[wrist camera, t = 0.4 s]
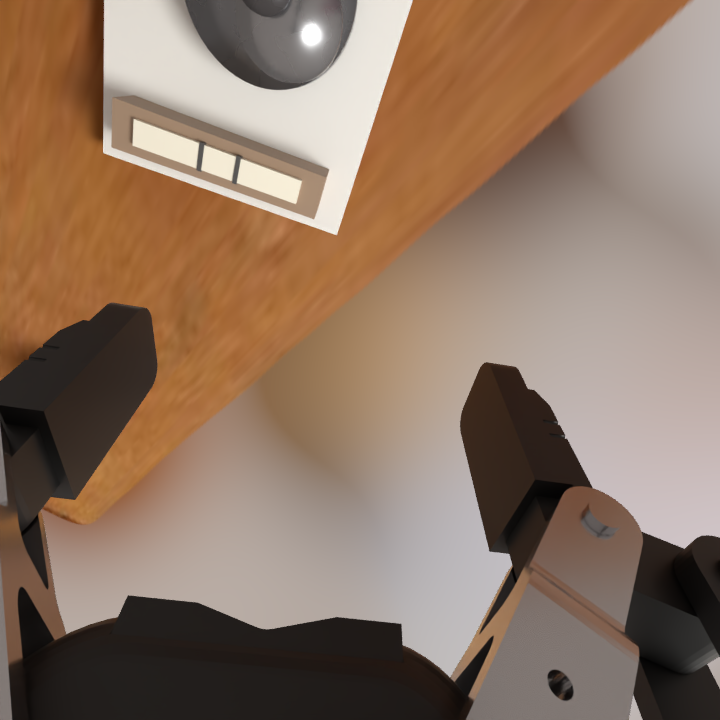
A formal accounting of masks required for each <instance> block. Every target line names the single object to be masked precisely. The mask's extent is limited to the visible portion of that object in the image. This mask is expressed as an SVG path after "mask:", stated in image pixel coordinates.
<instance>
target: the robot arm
mask: <svg viewBox="0 0 720 720" xmlns="http://www.w3.org/2000/svg"><path fill="white" fill-rule="evenodd" d="M156 374H157V356H156V349H155V341H154V333H153V326H152V318H151V314H150V312H149V310H148V309H147V308H143V307H137V306H130V305H124V304H117V303H109V304H107V305H106V306H105V307H104V308H103V309H102V310H101V311H100V312H98V313H97V314H96V315H95V316H94V317H93V318H92V319H91V320H90V321H86V320H82V321H80V322H78V323H76V324H73V325H71V326H69V327H67V328H64V329H62V330H60V331H58V332H57V333H56V334H55V335H54V336H53V337H51V338H50V339H49V340H48V341H47V342H46V343H44V344H43V348H38V349H37V350H36V351H35V352H34V353H33V354H31V355H30V356H29V360H24V361H23V362H22V363H21V364H20V365H19V366H17V367H16V368H15V369H14V370H13V371H12V372H10V373H9V374H8V375H7V376H6V377H4V378H3V379H2V380H1V381H0V720H629V715H630V709H631V703H632V697H633V695H634V697H635V700H636V703H637V706H638V708H639V711H640V713H641V716H642V719H643V720H720V689H719V687H718V685H717V683H716V681H715V679H714V677H713V675H712V673H711V671H710V669H709V667H708V665H707V664H708V663H710V662H711V661H713V660H714V659H716V658H718V657H720V538H718V537H715V536H700V537H698V538H696V539H695V540H694V541H693V542H692V543H691V544H689V545H688V546H687V547H686V548H685V549H683V548H681V547H678V546H676V545H673V544H671V543H668V542H666V541H663V540H661V539H658V538H656V537H653V536H651V535H648V534H645V533H643V532H641V530H640V527H639V525H638V523H637V522H636V521H635V519H634V517H633V516H632V515H631V514H630V513H629V512H628V510H627V509H626V508H625V507H623V506H622V505H621V504H620V503H618V501H616V500H615V499H613V498H612V497H610V496H609V495H607V494H605V493H603V492H601V491H599V490H596V489H593V488H592V486H591V484H590V482H589V480H588V478H587V476H586V474H585V472H584V470H583V469H582V467H581V465H580V463H579V461H578V459H577V457H576V455H575V453H574V451H573V450H572V448H571V446H570V444H569V442H568V440H567V439H565V434H564V432H563V430H562V428H561V427H560V425H558V421H557V419H556V417H555V415H554V413H553V411H552V409H551V407H550V406H549V405H548V403H547V402H546V401H545V400H544V399H542V398H541V397H540V395H538V394H537V392H536V391H534V390H530V389H528V388H527V387H526V384H525V382H524V380H523V378H522V376H521V374H520V372H519V370H518V369H517V368H516V367H513V366H506V365H500V364H493V363H487V362H486V363H484V364H483V365H482V366H481V367H480V369H479V372H478V374H477V376H476V379H475V381H474V384H473V386H472V388H471V391H470V393H469V396H468V398H467V400H466V403H465V405H464V408H463V410H462V414H461V421H460V428H461V435H462V439H463V443H464V448H465V452H466V456H467V460H468V464H469V468H470V473H471V477H472V480H473V485H474V489H475V493H476V497H477V501H478V506H479V510H480V514H481V518H482V522H483V526H484V530H485V534H486V539H487V542H488V547H489V551H490V552H500V553H508V554H510V557H511V561H512V566H511V568H510V569H509V571H508V572H507V574H506V576H505V578H504V580H503V581H502V584H501V585H500V587H499V589H498V591H497V593H496V595H495V597H494V599H493V601H492V603H491V605H490V607H489V609H488V611H487V613H486V615H485V617H484V618H483V620H482V623H481V624H480V626H479V628H478V630H477V632H476V634H475V636H474V638H473V640H472V642H471V643H470V645H469V647H468V649H467V650H466V652H465V654H464V655H463V657H462V659H461V660H460V662H459V663H458V665H457V667H456V668H455V670H454V672H453V674H452V675H451V677H449V676H448V675H447V674H446V673H444V672H443V671H442V670H441V669H440V668H439V667H438V666H436V665H435V664H434V663H432V662H431V661H430V660H428V659H427V658H426V657H424V656H422V655H421V654H419V653H417V652H416V651H414V650H412V649H410V648H408V647H406V646H403V645H402V629H401V624H396V623H387V622H377V621H367V620H357V619H348V618H339V617H335V618H330V619H325V620H320V621H314V622H308V623H303V624H297V625H292V626H287V627H281V628H276V629H269V630H266V629H260V628H257V627H254V626H252V625H249V624H247V623H245V622H243V621H240V620H238V619H235V618H233V617H230V616H228V615H226V614H223V613H221V612H219V611H216V610H214V609H211V608H209V607H207V606H204V605H202V604H199V603H195V602H185V601H175V600H166V599H157V598H146V597H137V596H128V597H127V599H126V601H125V603H124V605H123V608H122V610H121V612H120V614H119V616H118V617H117V618H112V619H107V620H104V621H101V622H97V623H94V624H90V625H88V626H85V627H83V628H80V629H78V630H75V631H73V632H70V633H68V634H66V631H65V627H64V624H63V621H62V618H61V615H60V612H59V608H58V604H57V600H56V595H55V588H54V582H53V576H52V570H51V563H50V557H49V551H48V544H47V538H46V532H45V525H44V520H43V516H42V513H41V511H40V510H41V509H42V508H43V506H44V505H45V504H46V502H47V501H48V500H49V498H50V497H56V498H64V499H73V500H75V499H76V498H77V496H78V495H79V493H80V492H81V491H82V489H83V488H84V486H85V485H86V483H87V482H88V480H89V479H90V477H91V476H92V474H93V473H94V471H95V470H96V469H97V467H98V466H99V464H100V463H101V461H102V460H103V458H104V457H105V455H106V454H107V452H108V451H109V449H110V448H111V447H112V445H113V444H114V442H115V441H116V439H117V438H118V436H119V435H120V433H121V432H122V430H123V429H124V427H125V426H126V424H127V423H128V422H129V420H130V419H131V417H132V416H133V414H134V413H135V411H136V410H137V408H138V407H139V405H140V404H141V402H142V401H143V400H144V398H145V397H146V395H147V394H148V392H149V391H150V389H151V388H152V386H153V384H154V381H155V378H156Z"/></svg>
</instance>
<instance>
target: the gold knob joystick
mask: <svg viewBox="0 0 720 720" xmlns="http://www.w3.org/2000/svg"><path fill="white" fill-rule="evenodd" d="M185 3H186V6H187V9H188V12H189V15H190V17H191V19H192V22H193V24H194V26H195V28H196V30H197V32H198V34H199V36H200V38H201V39H202V41H203V42H204V44H205V45H206V47H207V48H208V50H209V51H210V52H211V53H212V55H213V56H214V57H215V58H216V59H217V60H218V61H219V62H220V63H221V64H222V65H223V66H224V67H225V68H226V69H227V70H228V71H230V72H231V73H232V74H233V75H235V76H236V77H238V78H240V79H241V80H243V81H245V82H247V83H249V84H252V85H254V86H257V87H260V88H264V89H270V90H288V89H294V88H299V87H302V86H305V85H308V84H310V83H312V82H314V81H316V80H317V79H319V78H320V77H322V76H323V75H324V74H325V73H327V72H328V71H329V70H330V69H331V68H332V66H333V65H334V64H335V63H336V62H337V60H338V59H339V57H340V56H341V54H342V53H343V51H344V49H345V47H346V46H347V43H348V41H349V38H350V36H351V33H352V30H353V26H354V23H355V18H356V12H357V4H358V0H185Z"/></svg>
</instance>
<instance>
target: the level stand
mask: <svg viewBox="0 0 720 720" xmlns="http://www.w3.org/2000/svg"><path fill="white" fill-rule="evenodd" d="M412 1H413V0H358V4H357V12H356V18H355V23H354V26H353V30H352V33H351V36H350V38H349V41H348V43H347V46H346V47H345V49H344V51H343V53H342V54H341V56H340V57H339V59H338V60H337V62H336V63H335V64H334V65H333V66H332V68H331V69H330V70H329V71H328V72H327V73H325V74H324V75H323V76H322V77H320V78H319V79H317V80H316V81H314V82H312V83H310V84H308V85H305V86H302V87H299V88H294V89H288V90H270V89H264V88H260V87H257V86H254V85H252V84H249V83H247V82H245V81H243V80H241V79H240V78H238V77H236V76H235V75H233V74H232V73H231V72H230V71H228V70H227V69H226V68H225V67H224V66H223V65H222V64H221V63H220V62H219V61H218V60H217V59H216V58H215V57H214V56H213V55H212V53H211V52H210V51H209V50H208V48H207V47H206V45H205V44H204V42H203V41H202V39H201V38H200V36H199V34H198V32H197V30H196V28H195V26H194V24H193V22H192V19H191V17H190V15H189V12H188V9H187V6H186V3H185V0H104V103H103V153H105V154H108V155H110V156H113V157H116V158H119V159H122V160H125V161H127V162H130V163H133V164H136V165H139V166H142V167H145V168H147V169H150V170H153V171H156V172H159V173H162V174H164V175H167V176H170V177H173V178H176V179H179V180H181V181H184V182H187V183H190V184H193V185H196V186H199V187H201V188H204V189H207V190H210V191H213V192H216V193H218V194H221V195H224V196H227V197H230V198H233V199H235V200H238V201H241V202H244V203H247V204H250V205H253V206H255V207H258V208H261V209H264V210H267V211H270V212H272V213H275V214H278V215H281V216H284V217H287V218H289V219H292V220H295V221H298V222H301V223H304V224H307V225H309V226H312V227H315V228H318V229H321V230H324V231H326V232H329V233H332V234H335V235H337V233H338V230H339V227H340V223H341V220H342V217H343V214H344V211H345V208H346V205H347V202H348V199H349V196H350V193H351V189H352V186H353V183H354V180H355V177H356V174H357V171H358V168H359V165H360V162H361V159H362V155H363V152H364V149H365V146H366V143H367V140H368V137H369V134H370V131H371V128H372V125H373V121H374V118H375V115H376V112H377V109H378V106H379V103H380V100H381V97H382V94H383V91H384V87H385V84H386V81H387V78H388V75H389V72H390V69H391V66H392V63H393V60H394V57H395V53H396V50H397V47H398V44H399V41H400V38H401V35H402V32H403V29H404V26H405V23H406V19H407V16H408V13H409V10H410V7H411V4H412Z"/></svg>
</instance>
